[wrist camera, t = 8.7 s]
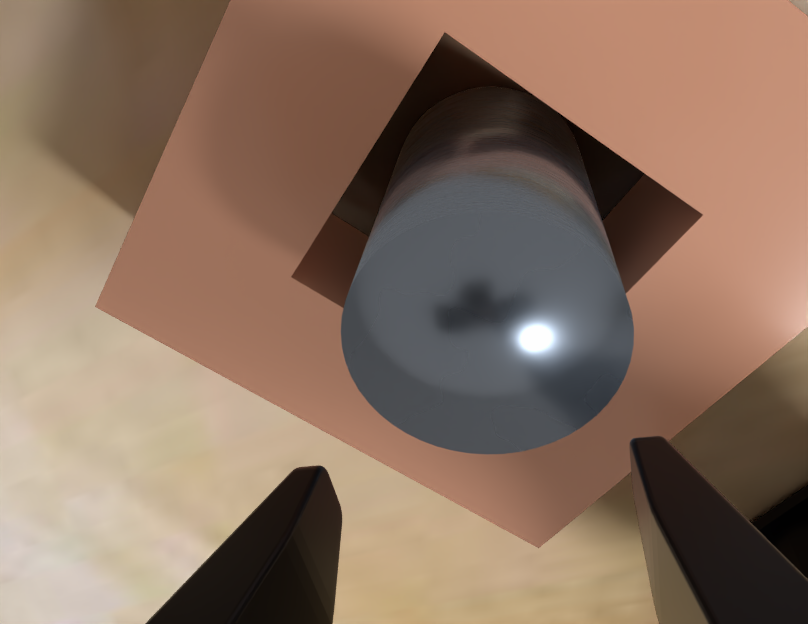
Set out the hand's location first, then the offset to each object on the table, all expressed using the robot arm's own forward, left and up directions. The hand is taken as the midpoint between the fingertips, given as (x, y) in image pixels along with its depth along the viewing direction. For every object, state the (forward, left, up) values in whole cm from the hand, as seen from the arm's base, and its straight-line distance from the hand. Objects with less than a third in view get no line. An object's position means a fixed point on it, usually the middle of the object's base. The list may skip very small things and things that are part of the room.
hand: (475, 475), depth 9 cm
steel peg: (0, 0, -11) cm, 11 cm away
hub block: (0, 0, -11) cm, 11 cm away
